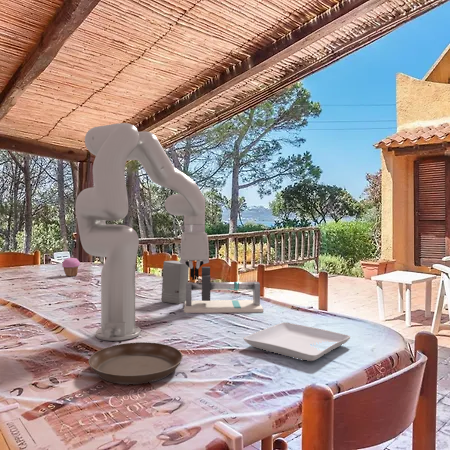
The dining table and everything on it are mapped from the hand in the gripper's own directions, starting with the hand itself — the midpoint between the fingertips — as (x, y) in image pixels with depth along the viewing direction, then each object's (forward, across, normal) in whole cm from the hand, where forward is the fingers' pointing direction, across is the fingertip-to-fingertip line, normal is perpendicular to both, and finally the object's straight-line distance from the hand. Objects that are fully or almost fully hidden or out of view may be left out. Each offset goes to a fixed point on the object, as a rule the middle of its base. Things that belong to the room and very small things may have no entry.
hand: (194, 279), depth 150 cm
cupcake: (+11, -66, +74) cm, 100 cm away
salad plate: (+11, +27, -44) cm, 53 cm away
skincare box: (+11, -8, +11) cm, 17 cm away
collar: (+7, +4, 0) cm, 8 cm away
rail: (+9, +10, 0) cm, 14 cm away
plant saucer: (+11, -13, -57) cm, 60 cm away
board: (+11, +10, 0) cm, 15 cm away
